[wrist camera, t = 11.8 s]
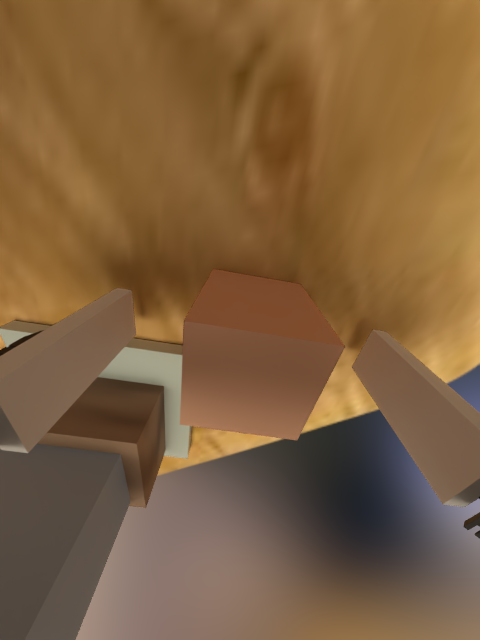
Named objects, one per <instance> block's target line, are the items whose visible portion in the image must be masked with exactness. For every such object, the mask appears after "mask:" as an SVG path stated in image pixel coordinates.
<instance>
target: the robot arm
mask: <svg viewBox="0 0 480 640" xmlns="http://www.w3.org/2000/svg"><path fill="white" fill-rule="evenodd" d="M135 335H136V328H135V318H134V307H133V297H132V290H127V289H121V288H116V289H114V290H112V291H111V292H109V293H107V294H106V295H104V296H102V297H101V298H99V299H97V300H95V301H94V302H92V303H90V304H89V305H87V306H85V307H83V308H82V309H80V310H78V311H77V312H75V313H73V314H71V315H70V316H68V317H66V318H65V319H63V320H61V321H59V322H58V323H56V324H54V325H53V326H51V327H49V328H47V329H46V330H42V331H39V332H36V333H33V334H30V335H27V336H24V337H23V338H21V339H19V340H17V341H15V342H14V343H12V344H10V345H9V346H8V347H5V348H3V349H1V350H0V449H1V450H6V451H14V452H23V453H29V452H30V451H31V450H32V448H33V447H34V446H35V445H36V444H37V443H38V442H39V441H40V440H41V438H42V437H43V436H44V435H45V434H46V433H47V432H48V431H49V430H50V429H51V427H52V426H53V425H54V424H55V423H56V422H57V421H58V420H59V419H60V418H61V416H62V415H63V414H64V413H65V412H66V411H67V410H68V409H69V408H70V407H71V405H72V404H73V403H74V402H75V401H76V400H77V399H78V398H79V397H80V396H81V394H82V393H83V392H84V391H85V390H86V389H87V388H88V387H89V386H90V385H91V383H92V382H93V381H94V380H95V379H96V378H97V377H98V376H99V375H100V374H101V372H102V371H103V370H104V369H105V368H106V367H107V366H108V365H109V364H110V363H111V361H112V360H113V359H114V358H115V357H116V356H117V355H118V354H119V353H120V352H121V350H122V349H123V348H124V347H125V346H126V345H127V344H128V343H129V342H130V341H131V339H132V338H133V337H134V336H135ZM352 368H353V370H354V371H355V373H356V374H357V376H358V377H359V379H360V380H361V382H362V383H363V385H364V386H365V388H366V389H367V391H368V392H369V394H370V395H371V397H372V398H373V400H374V401H375V403H376V404H377V406H378V407H379V409H380V410H381V412H382V413H383V415H384V416H385V418H386V419H387V421H388V422H389V424H390V425H391V427H392V428H393V430H394V432H395V433H396V434H397V436H398V438H399V439H400V441H401V442H402V444H403V445H404V446H405V448H406V450H407V451H408V453H409V454H410V456H411V457H412V459H413V460H414V462H415V463H416V465H417V466H418V468H419V469H420V470H421V472H422V473H423V475H424V477H425V478H426V480H427V481H428V482H429V484H430V485H431V487H432V489H433V490H434V492H435V493H436V495H437V496H438V498H439V499H440V500H441V502H442V503H443V504H444V505H453V506H461V507H466V506H467V505H469V504H470V503H472V502H473V501H475V500H477V499H478V498H479V499H480V413H479V412H478V411H477V410H476V409H474V408H473V407H472V406H471V405H470V404H469V403H468V402H466V401H465V400H464V399H463V398H462V397H461V396H460V395H458V394H457V393H456V392H455V391H454V390H453V389H451V388H450V387H449V386H448V385H447V384H446V383H445V382H443V381H442V380H441V379H440V378H439V377H438V376H437V375H435V374H434V373H433V372H432V371H431V370H430V369H428V368H427V367H426V366H425V365H424V364H423V363H422V362H420V361H419V360H418V359H417V358H416V357H415V356H414V355H412V354H411V353H410V352H409V351H408V350H407V349H406V348H404V347H403V346H402V345H401V344H400V343H399V342H397V341H396V340H395V339H394V338H393V337H392V336H391V335H389V334H388V333H387V332H386V331H380V330H374V329H373V330H372V331H371V333H370V335H369V337H368V339H367V340H366V342H365V344H364V346H363V348H362V350H361V351H360V353H359V355H358V357H357V359H356V360H355V362H354V364H353V366H352ZM476 525H478V526H480V513H478V514H476V515H474V516H473V517H471V518H470V519H468V520H466V521H465V522H464V527H465V528H466V529H467V530H469V529H471V528H473V527H475V526H476ZM475 535H476V536H477V537H478V538H480V531H478V532H476V533H475Z"/></svg>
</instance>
